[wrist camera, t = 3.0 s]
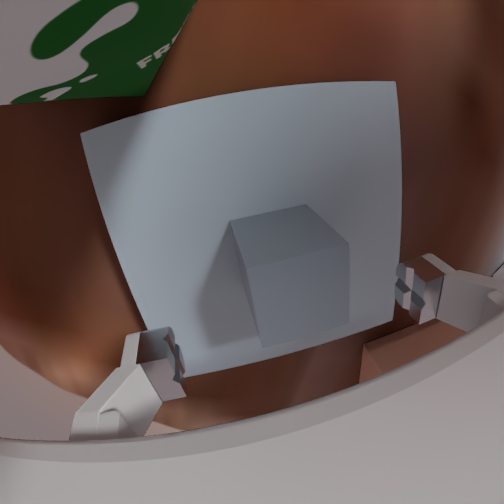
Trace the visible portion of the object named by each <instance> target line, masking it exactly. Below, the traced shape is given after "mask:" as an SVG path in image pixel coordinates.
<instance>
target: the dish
mask: <svg viewBox="0 0 504 504" xmlns="http://www.w3.org/2000/svg"><path fill="white" fill-rule="evenodd" d="M465 333H467V332H466V331H464V330H461V329H459V328H457V327H454V326H452V325H450V324H448V323H445V322H443V321H441V320H438V319H436V318H434V319H431V320H429V321H427V322H424V323H422V324H419V325H418V323H417V324H414V325H412V326H409V327H407V328H404V329H402V330H399V331H397V332H394V333H392V334H389V335H386V336H384V337H381V338H378V339H376V340H373V341H370V342H367V343H365V344H363V353H362V362H361V371H360V379H359V383H362V382H364V381H367V380H369V379H372V378H374V377H377V376H379V375H381V374H384V373H386V372H388V371H391V370H393V369H395V368H397V367H400V366H402V365H404V364H406V363H409V362H411V361H413V360H415V359H417V358H419V357H421V356H423V355H425V354H427V353H429V352H431V351H433V350H435V349H437V348H439V347H441V346H443V345H445V344H447V343H449V342H451V341H453V340H454V339H456V338H458V337H460V336H462V335H463V334H465Z"/></svg>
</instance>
